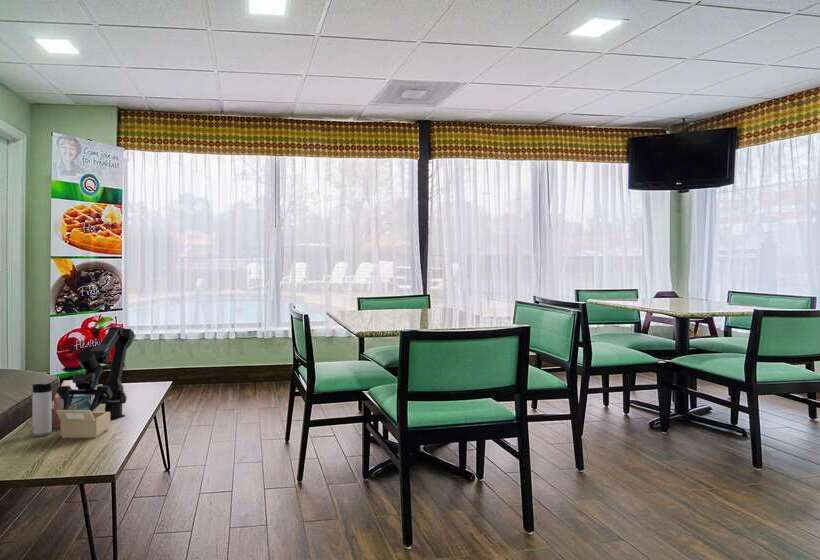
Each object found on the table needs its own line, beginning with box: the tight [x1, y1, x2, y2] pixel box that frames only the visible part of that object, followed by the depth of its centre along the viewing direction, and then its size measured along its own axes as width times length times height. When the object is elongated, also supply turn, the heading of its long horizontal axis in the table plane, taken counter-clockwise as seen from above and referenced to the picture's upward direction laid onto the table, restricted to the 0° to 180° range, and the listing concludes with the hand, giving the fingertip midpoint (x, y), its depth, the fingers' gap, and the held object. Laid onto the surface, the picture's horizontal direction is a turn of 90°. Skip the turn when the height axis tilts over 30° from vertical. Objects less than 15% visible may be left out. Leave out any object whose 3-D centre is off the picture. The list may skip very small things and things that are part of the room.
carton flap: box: [56, 410, 95, 421], centre depth 222 cm, size 6×12×1 cm
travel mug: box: [31, 383, 53, 438], centre depth 228 cm, size 6×7×20 cm
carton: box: [59, 411, 111, 439], centre depth 230 cm, size 13×13×7 cm
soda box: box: [53, 379, 97, 429], centre depth 258 cm, size 41×14×13 cm, turn 26°
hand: (77, 411), depth 223 cm, fingers open, 9 cm apart
